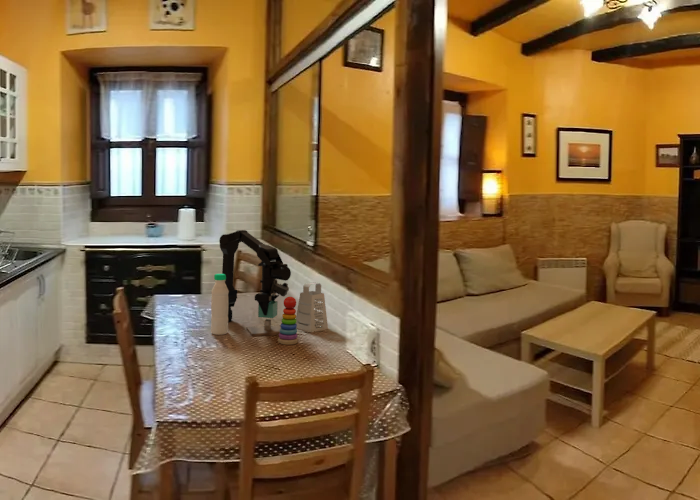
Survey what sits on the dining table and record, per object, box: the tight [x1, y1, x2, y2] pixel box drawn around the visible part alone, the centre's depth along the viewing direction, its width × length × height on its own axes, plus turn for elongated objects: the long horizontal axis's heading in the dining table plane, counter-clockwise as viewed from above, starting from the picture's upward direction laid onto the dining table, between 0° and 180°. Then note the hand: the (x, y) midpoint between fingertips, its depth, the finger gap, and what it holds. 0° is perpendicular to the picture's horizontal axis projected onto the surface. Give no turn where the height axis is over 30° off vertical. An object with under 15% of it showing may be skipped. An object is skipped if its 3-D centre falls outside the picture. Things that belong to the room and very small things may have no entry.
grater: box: [295, 282, 329, 333], centre depth 273 cm, size 10×10×20 cm
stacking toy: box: [277, 296, 299, 346], centre depth 248 cm, size 8×8×19 cm
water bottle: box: [210, 273, 229, 336], centre depth 259 cm, size 7×7×25 cm
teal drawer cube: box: [257, 300, 279, 319], centre depth 265 cm, size 6×6×6 cm
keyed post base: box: [245, 318, 281, 337], centre depth 265 cm, size 16×12×5 cm
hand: (267, 313), depth 265 cm, fingers closed on teal drawer cube, 6 cm apart
